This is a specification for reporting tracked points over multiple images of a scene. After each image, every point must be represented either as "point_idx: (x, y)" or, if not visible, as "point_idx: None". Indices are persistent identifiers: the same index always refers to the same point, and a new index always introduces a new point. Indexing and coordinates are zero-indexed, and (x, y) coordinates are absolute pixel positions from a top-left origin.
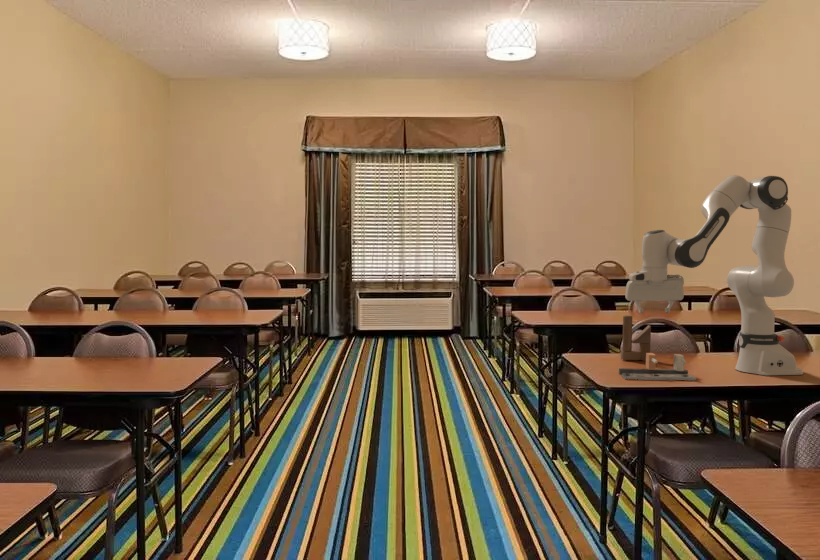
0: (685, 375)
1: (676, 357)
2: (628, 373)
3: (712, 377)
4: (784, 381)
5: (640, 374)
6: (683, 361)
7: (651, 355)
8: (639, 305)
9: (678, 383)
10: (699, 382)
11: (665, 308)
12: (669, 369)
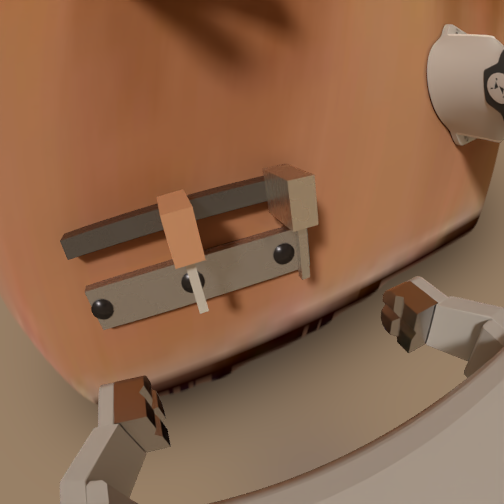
0: (286, 254)
1: (288, 219)
2: (103, 286)
3: (358, 193)
4: (462, 195)
5: (143, 287)
6: (301, 273)
7: (186, 264)
8: (130, 488)
9: (254, 310)
10: (310, 275)
11: (409, 326)
12: (246, 190)
